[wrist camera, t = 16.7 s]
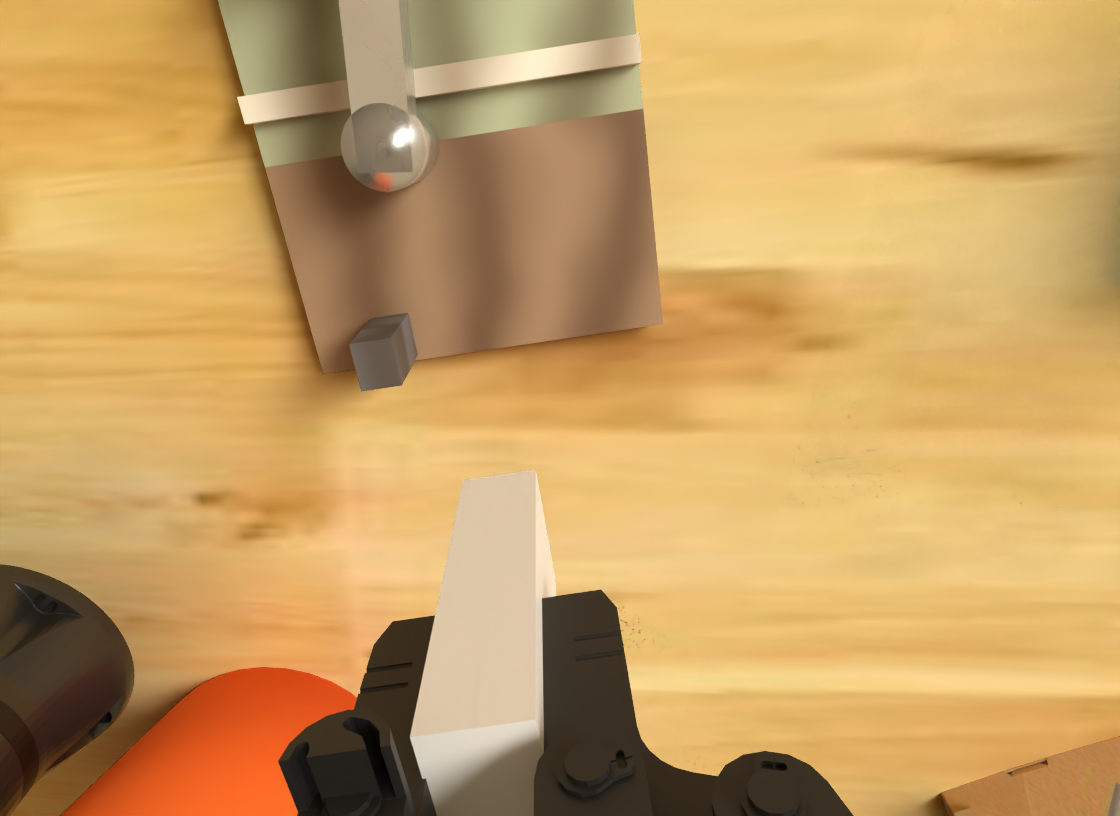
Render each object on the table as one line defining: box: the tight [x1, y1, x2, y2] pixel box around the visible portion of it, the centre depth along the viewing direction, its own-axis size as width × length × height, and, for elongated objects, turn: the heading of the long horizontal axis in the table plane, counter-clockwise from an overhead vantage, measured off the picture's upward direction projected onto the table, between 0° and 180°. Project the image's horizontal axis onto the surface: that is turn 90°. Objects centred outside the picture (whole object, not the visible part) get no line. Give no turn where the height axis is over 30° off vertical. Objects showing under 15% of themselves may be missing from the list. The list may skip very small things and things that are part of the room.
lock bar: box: [339, 0, 439, 192], centre depth 31 cm, size 13×4×5 cm, turn 1°
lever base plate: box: [218, 0, 663, 391], centre depth 33 cm, size 19×22×6 cm
